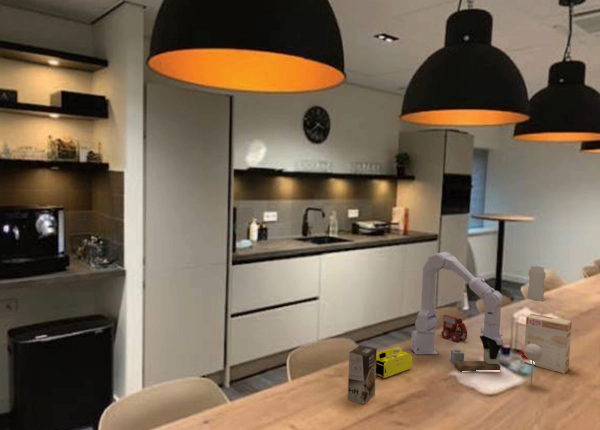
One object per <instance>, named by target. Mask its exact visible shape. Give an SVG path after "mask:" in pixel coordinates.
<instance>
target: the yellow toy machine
mask: <svg viewBox="0 0 600 430" xmlns="http://www.w3.org/2000/svg"><path fill="white" fill-rule="evenodd" d="M412 364H413V355H412V354H411V353H409V352H405V351H403V348H402V347H401V346H399V345H398V346H395V347H393V348H392V347H391V348H388V349H386V350H382V351H380V352H379V351H378V352H377V353H376V375H377V376H379V378H380V377H381V378H383V379H384V378H388V377H391V376H393V375H398V374H399V373H403V372H404V371H407V370H411V369H412V367H413V365H412Z"/></svg>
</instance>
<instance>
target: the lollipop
mask: <svg viewBox="0 0 600 430" xmlns="http://www.w3.org/2000/svg"><path fill="white" fill-rule="evenodd" d="M523 353H525V356H526V357H527V358H528V359H530V360H532V365H531V370H530V373H531V374H530V385H533V373H534V365H533V361H536V360H539V359H540V358H541V357H542V350H541V348H540V347H539V346H538V345H536V344H528V345H527V346H526V347H525V346H524V349H523Z"/></svg>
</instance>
